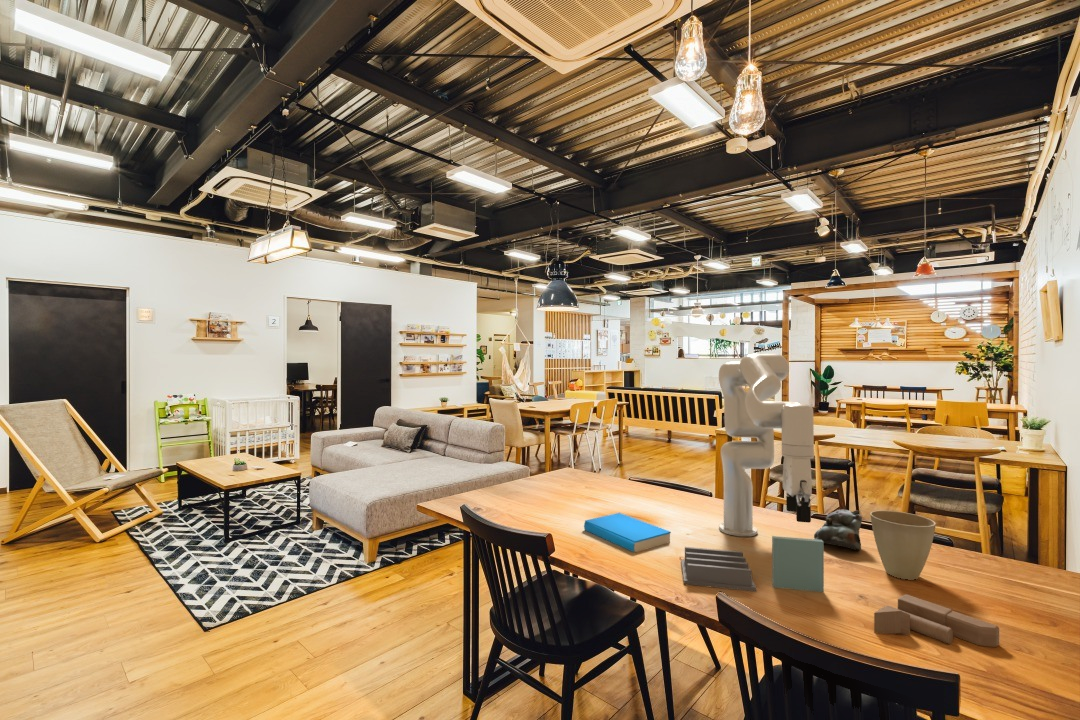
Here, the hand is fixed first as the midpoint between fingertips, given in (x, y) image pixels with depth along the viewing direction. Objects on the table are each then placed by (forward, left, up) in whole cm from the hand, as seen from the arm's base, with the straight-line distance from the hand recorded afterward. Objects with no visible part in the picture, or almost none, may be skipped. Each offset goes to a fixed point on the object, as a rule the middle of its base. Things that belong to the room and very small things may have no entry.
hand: (798, 516), depth 130 cm
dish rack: (-3, -20, -19) cm, 28 cm away
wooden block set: (+18, +22, -20) cm, 35 cm away
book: (-30, -46, -20) cm, 59 cm away
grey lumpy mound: (-37, +21, -19) cm, 47 cm away
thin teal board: (0, 0, -19) cm, 19 cm away
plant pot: (-16, +31, -19) cm, 40 cm away
